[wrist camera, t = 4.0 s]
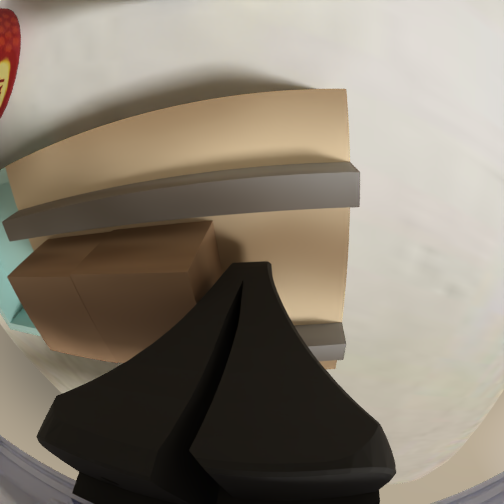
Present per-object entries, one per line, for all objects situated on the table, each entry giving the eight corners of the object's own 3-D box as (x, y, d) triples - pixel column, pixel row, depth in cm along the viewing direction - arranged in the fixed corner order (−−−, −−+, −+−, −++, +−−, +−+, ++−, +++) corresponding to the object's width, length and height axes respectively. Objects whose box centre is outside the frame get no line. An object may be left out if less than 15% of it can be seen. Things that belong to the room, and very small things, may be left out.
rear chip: (143, 311, 12) (117, 363, 9) (79, 308, 13) (50, 349, 10) (113, 231, 10) (70, 276, 7) (47, 239, 11) (6, 276, 8)
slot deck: (327, 314, 16) (337, 388, 12) (116, 315, 18) (84, 371, 14) (325, 91, 10) (356, 87, 6) (55, 145, 12) (-13, 175, 8)
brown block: (230, 312, 11) (217, 371, 9) (143, 311, 12) (116, 361, 9) (212, 220, 9) (187, 271, 7) (112, 229, 10) (69, 274, 7)
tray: (114, 315, 18) (96, 346, 16) (27, 307, 20) (10, 329, 17) (53, 145, 12) (17, 161, 10) (-25, 184, 14) (-50, 200, 11)
